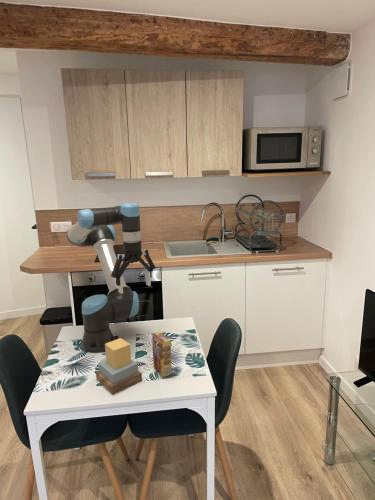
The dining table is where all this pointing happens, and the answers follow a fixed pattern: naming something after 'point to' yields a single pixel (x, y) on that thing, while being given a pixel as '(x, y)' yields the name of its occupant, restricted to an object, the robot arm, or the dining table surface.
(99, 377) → the base block
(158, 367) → the candy box
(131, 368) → the top block
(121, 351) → the ochre block
